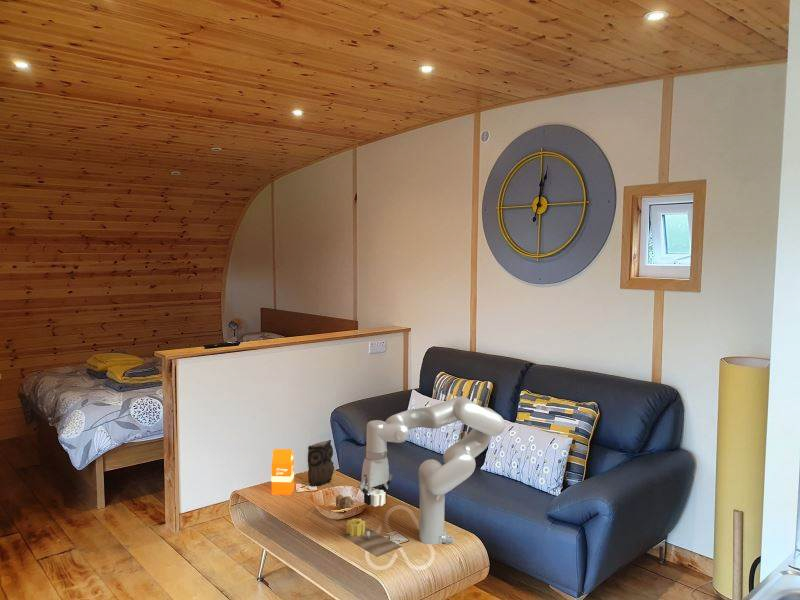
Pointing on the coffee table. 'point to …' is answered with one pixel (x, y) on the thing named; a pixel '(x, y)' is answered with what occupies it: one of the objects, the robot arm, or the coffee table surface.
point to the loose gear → (377, 497)
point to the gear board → (372, 542)
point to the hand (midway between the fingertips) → (375, 501)
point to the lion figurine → (344, 501)
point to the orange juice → (282, 472)
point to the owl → (320, 463)
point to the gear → (355, 527)
